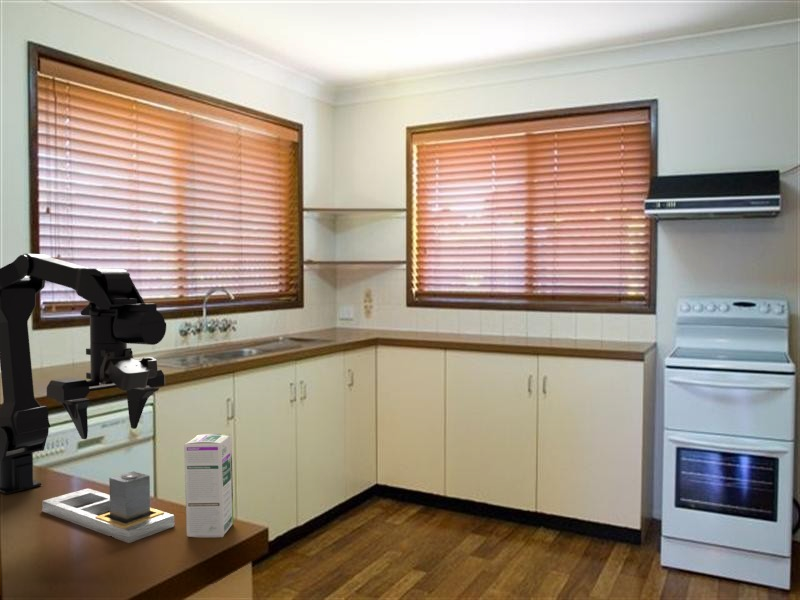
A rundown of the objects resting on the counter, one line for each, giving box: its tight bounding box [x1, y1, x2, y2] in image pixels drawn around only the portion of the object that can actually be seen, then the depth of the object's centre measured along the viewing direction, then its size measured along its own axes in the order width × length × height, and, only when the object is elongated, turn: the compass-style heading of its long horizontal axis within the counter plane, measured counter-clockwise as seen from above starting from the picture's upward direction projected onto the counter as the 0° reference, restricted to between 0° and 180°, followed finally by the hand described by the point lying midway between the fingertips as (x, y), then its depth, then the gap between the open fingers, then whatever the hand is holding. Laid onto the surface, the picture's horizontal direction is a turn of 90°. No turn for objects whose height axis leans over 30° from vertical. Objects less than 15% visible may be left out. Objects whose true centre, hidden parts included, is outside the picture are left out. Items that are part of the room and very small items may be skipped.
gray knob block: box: [108, 471, 151, 523], centre depth 104 cm, size 4×4×8 cm
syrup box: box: [183, 433, 235, 538], centre depth 102 cm, size 6×6×14 cm
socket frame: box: [41, 487, 175, 544], centre depth 107 cm, size 24×8×2 cm, turn 56°
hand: (109, 433), depth 113 cm, fingers open, 9 cm apart
